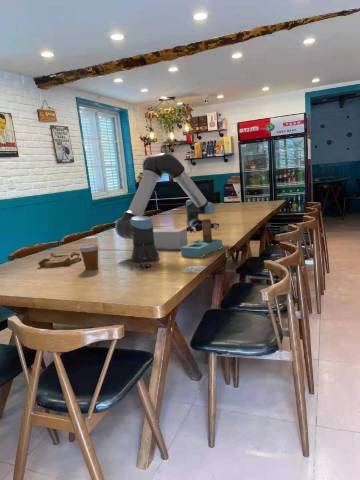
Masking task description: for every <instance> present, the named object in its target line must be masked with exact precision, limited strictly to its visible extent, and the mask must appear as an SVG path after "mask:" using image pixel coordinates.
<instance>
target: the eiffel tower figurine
mask: <svg viewBox="0 0 360 480" xmlns="http://www.w3.org/2000/svg"><path fill="white" fill-rule="evenodd" d="M156 265H158V266H160V265H161V263H156ZM135 268H139V269H142V270H147V269H151V268H153V263H150V261H148V260H147V257H146V254H145V248H144V244H143V260H142V262H140V264H139V265H136V266H134V267H132V268H130V269H129V271H134V270H135Z"/></svg>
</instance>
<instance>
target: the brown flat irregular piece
mask: <svg viewBox="0 0 360 480" xmlns="http://www.w3.org/2000/svg"><path fill="white" fill-rule="evenodd" d="M80 255H81V252H76V251H75V252H74V251H73V252H72V253H63V254H61V253H60V254H56V253H55V252H51V253H50V254H49V256H46V257H44V258H43V259H41V260H40V261H39V262H38V263H37V264H38V266H39V267H40V268H41V269H43V268H44V269H45V268H46V269H48V268H62V267H68V266H72V265H75V264H77V263H79V262H80V261H82V257H80Z"/></svg>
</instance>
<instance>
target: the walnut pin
mask: <svg viewBox="0 0 360 480" xmlns="http://www.w3.org/2000/svg"><path fill="white" fill-rule="evenodd" d="M201 220H202V229H203V230H202V240H203V242H204V243H210V242H212V239H213V236H212V235H213V234H212V228H211V223H212V221H211V219H210V218H207V219H201Z"/></svg>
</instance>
